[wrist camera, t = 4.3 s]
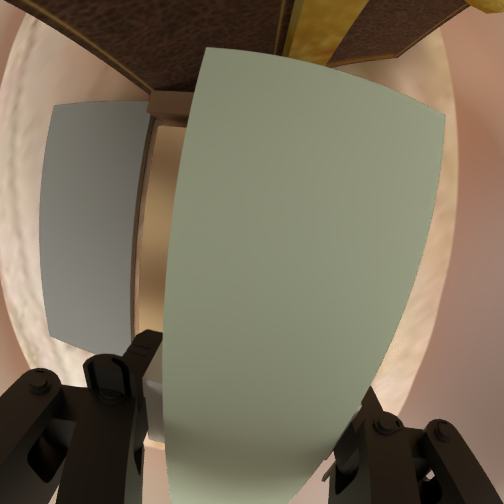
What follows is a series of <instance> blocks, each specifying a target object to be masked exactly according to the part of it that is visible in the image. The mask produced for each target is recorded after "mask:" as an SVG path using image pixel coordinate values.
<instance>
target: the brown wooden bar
mask: <svg viewBox="0 0 504 504" xmlns="http://www.w3.org/2000/svg"><path fill="white" fill-rule="evenodd" d="M186 129H187V128H183V127H172V126H158V129H157V134H156V140H155V145H154V150H153V156H152V162H151V168H150V174H149V181H148V188H147V196H146V204H145V212H144V222H143V232H142V244H141V259H140V278H139V333H141V332H143V331H144V330H146V329H150V330H154V331H158V332H162V333H163V316H164V297H165V282H166V270H167V258H168V248H169V238H170V230H171V221H172V213H173V206H174V199H175V192H176V185H177V179H178V172H179V166H180V160H181V155H182V149H183V144H184V139H185V134H186Z"/></svg>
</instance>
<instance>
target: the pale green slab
mask: <svg viewBox="0 0 504 504" xmlns="http://www.w3.org/2000/svg"><path fill="white" fill-rule="evenodd" d="M444 132H445V114H443V113H441V112H439V111H437V110H435V109H433V108H431V107H429V106H427V105H425V104H423V103H421V102H419V101H417V100H415V99H413V98H411V97H409V96H406V95H404V94H402V93H400V92H397V91H395V90H392V89H390V88H388V87H385V86H383V85H380V84H377V83H375V82H372V81H369V80H367V79H364V78H361V77H358V76H355V75H352V74H349V73H346V72H342V71H339V70H336V69H332V68H329V67H325V66H321V65H318V64H314V63H310V62H305V61H301V60H296V59H292V58H287V57H282V56H276V55H271V54H265V53H258V52H251V51H243V50H234V49H223V48H209V47H206V50H205V54H204V57H203V61H202V65H201V68H200V72H199V76H198V80H197V84H196V88H195V92H194V96H193V101H192V105H191V110H190V114H189V119H188V124H187V129H186V134H185V139H184V144H183V149H182V155H181V160H180V166H179V172H178V179H177V185H176V192H175V199H174V206H173V213H172V221H171V230H170V238H169V248H168V258H167V270H166V282H165V297H164V316H163V346H162V392H163V421H164V438H165V452H166V463H167V473H168V481H169V490H170V498H171V504H288V503H289V502H290V501H291V500H292V499H293V498H294V496H295V495H296V494H297V493H298V492H299V491H300V490H301V488H302V487H303V486H304V485H305V483H306V482H307V481H308V480H309V478H310V477H311V476H312V475H313V473H314V472H315V471H316V469H317V468H318V467H319V466H320V464H321V463H322V462H323V460H324V459H325V457H326V456H327V455H328V453H329V452H330V450H331V449H332V447H333V446H334V445H335V443H336V442H337V440H338V439H339V437H340V436H341V434H342V433H343V431H344V429H345V428H346V426H347V425H348V423H349V421H350V420H351V418H352V417H353V415H354V413H355V411H356V410H357V408H358V406H359V405H360V403H361V401H362V399H363V398H364V396H365V394H366V392H367V390H368V388H369V387H370V385H371V383H372V381H373V379H374V377H375V375H376V373H377V371H378V369H379V367H380V365H381V363H382V361H383V359H384V357H385V354H386V352H387V350H388V348H389V346H390V343H391V341H392V339H393V337H394V334H395V332H396V329H397V327H398V325H399V322H400V320H401V317H402V314H403V312H404V309H405V307H406V304H407V301H408V298H409V296H410V293H411V290H412V287H413V284H414V281H415V278H416V275H417V272H418V268H419V265H420V262H421V258H422V255H423V251H424V247H425V244H426V240H427V236H428V232H429V228H430V224H431V219H432V215H433V210H434V205H435V200H436V194H437V189H438V183H439V176H440V170H441V162H442V154H443V144H444Z"/></svg>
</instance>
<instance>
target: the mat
mask: <svg viewBox="0 0 504 504" xmlns="http://www.w3.org/2000/svg"><path fill="white" fill-rule="evenodd" d="M148 102H149V101H99V102H84V103H73V104H63V105H55V106H54V108H53V112H52V117H51V121H50V126H49V131H48V137H47V142H46V149H45V155H44V163H43V171H42V181H41V194H40V215H39V245H40V266H41V278H42V288H43V297H44V304H45V311H46V317H47V323H48V329H49V334H50V336H51V337H53V338H56V339H58V340H60V341H63V342H65V343H68V344H70V345H73V346H75V347H78V348H80V349H83V350H85V351H88V352H91V353H94V354H96V355H98V354H103V353H106V354H115V355H119V356H123V354H124V353H125V352H126V350H127V348H128V347H129V345H131V343H132V341H133V340H134V275H135V254H136V240H137V228H138V217H139V208H140V199H141V191H142V184H143V177H144V170H145V164H146V158H147V152H148V147H149V141H150V136H151V131H152V126H153V121H154V116H152V115H151V114H149V113H147V112H146V111H147V107H148Z"/></svg>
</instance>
